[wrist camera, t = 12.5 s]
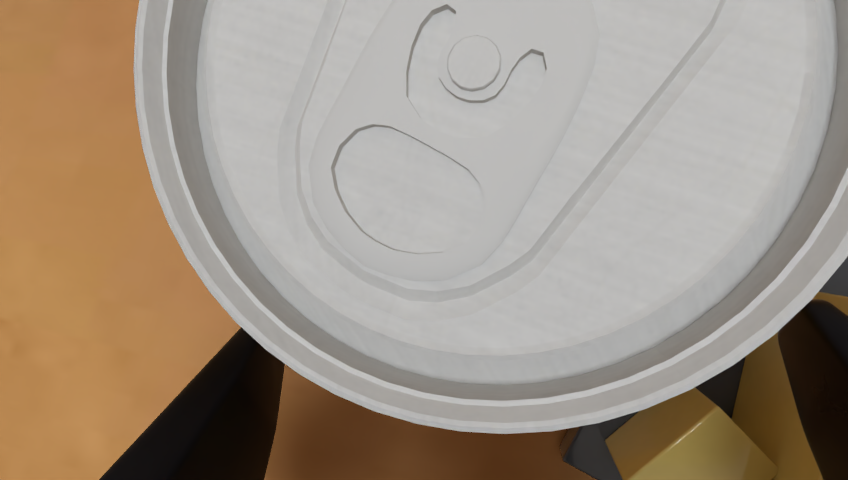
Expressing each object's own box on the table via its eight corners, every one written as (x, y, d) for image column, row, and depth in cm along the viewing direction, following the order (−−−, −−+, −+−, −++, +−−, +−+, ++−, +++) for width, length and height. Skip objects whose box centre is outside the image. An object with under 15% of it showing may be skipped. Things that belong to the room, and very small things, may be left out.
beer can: (628, 165, 18) (1254, -216, 3) (537, 318, 18) (658, 681, 3) (473, 84, 18) (319, -533, 4) (391, 232, 19) (-34, 217, 4)
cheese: (846, 605, 17) (1022, 798, 11) (558, 446, 18) (579, 543, 12) (1011, 329, 16) (1296, 382, 10) (696, 187, 17) (788, 163, 12)
